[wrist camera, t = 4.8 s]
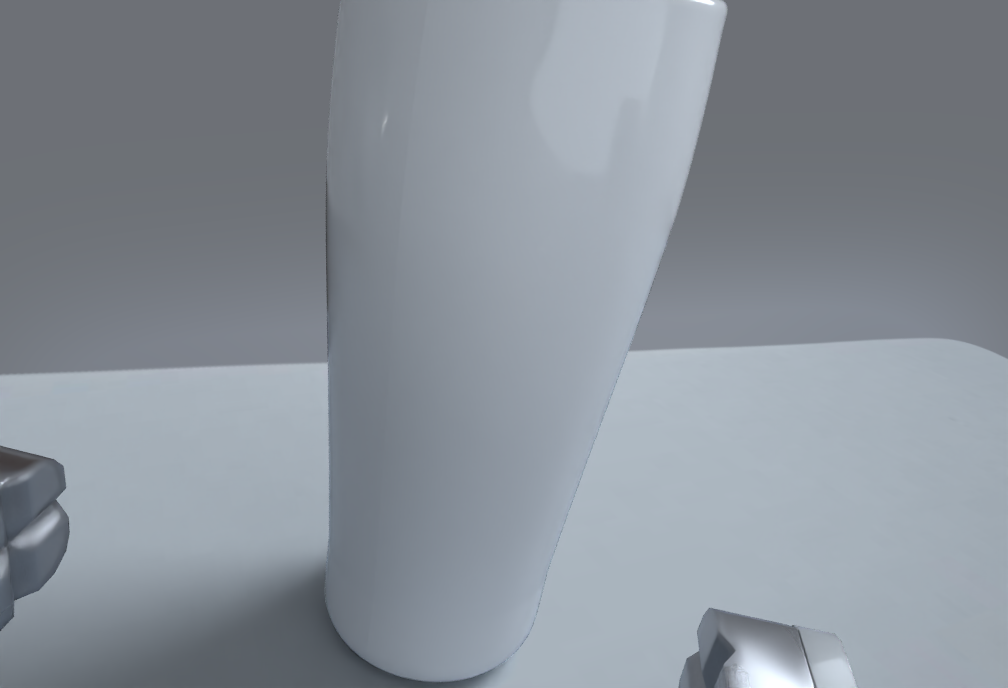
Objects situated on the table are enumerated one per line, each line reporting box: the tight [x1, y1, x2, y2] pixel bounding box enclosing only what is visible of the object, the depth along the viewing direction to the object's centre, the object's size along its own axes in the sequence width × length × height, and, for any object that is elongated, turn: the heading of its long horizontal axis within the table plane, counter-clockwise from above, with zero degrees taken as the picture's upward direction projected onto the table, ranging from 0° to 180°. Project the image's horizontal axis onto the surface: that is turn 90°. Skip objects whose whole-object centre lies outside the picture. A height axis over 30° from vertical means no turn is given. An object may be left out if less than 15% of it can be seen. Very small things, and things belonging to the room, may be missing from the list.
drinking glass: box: [325, 0, 727, 682], centre depth 17 cm, size 7×7×15 cm
